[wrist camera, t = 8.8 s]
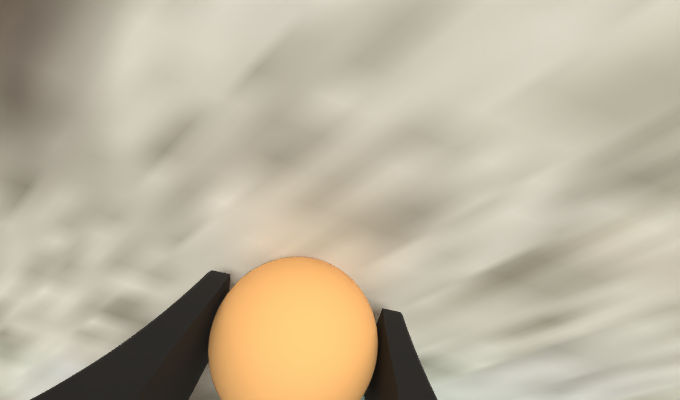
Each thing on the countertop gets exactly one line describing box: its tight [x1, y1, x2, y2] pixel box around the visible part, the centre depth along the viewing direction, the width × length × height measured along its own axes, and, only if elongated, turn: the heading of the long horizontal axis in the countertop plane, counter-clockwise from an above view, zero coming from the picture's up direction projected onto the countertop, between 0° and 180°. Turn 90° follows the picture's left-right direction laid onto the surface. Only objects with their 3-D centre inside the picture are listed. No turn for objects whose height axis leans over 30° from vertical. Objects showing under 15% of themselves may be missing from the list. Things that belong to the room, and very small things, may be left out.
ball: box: [208, 257, 378, 400], centre depth 11 cm, size 5×5×5 cm
